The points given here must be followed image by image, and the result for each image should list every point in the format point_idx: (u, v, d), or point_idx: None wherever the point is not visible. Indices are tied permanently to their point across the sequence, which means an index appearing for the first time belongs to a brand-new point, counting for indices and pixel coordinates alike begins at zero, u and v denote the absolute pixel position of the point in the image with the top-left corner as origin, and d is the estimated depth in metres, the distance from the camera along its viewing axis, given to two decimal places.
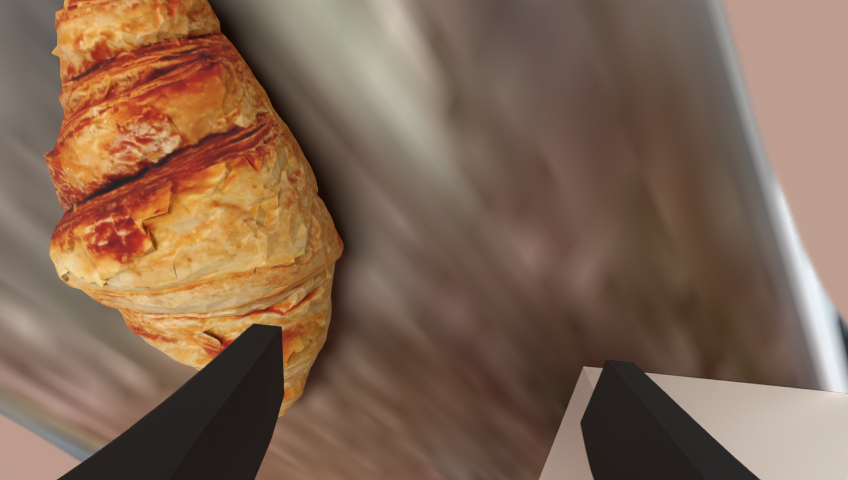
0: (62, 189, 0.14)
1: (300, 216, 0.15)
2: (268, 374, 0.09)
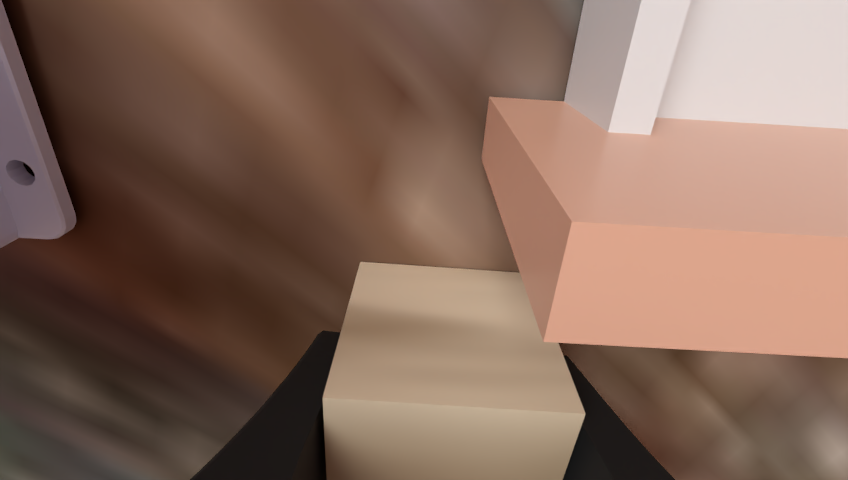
0: None
1: None
2: None
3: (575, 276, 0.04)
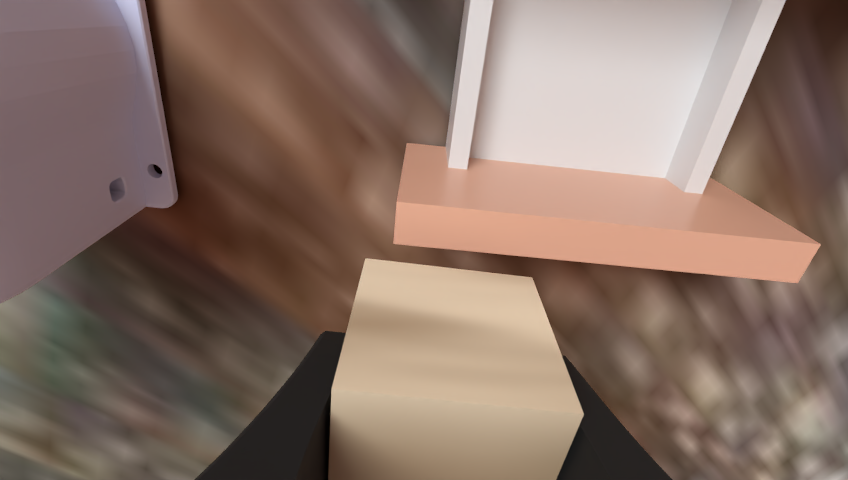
0: None
1: None
2: None
3: (400, 220, 0.11)
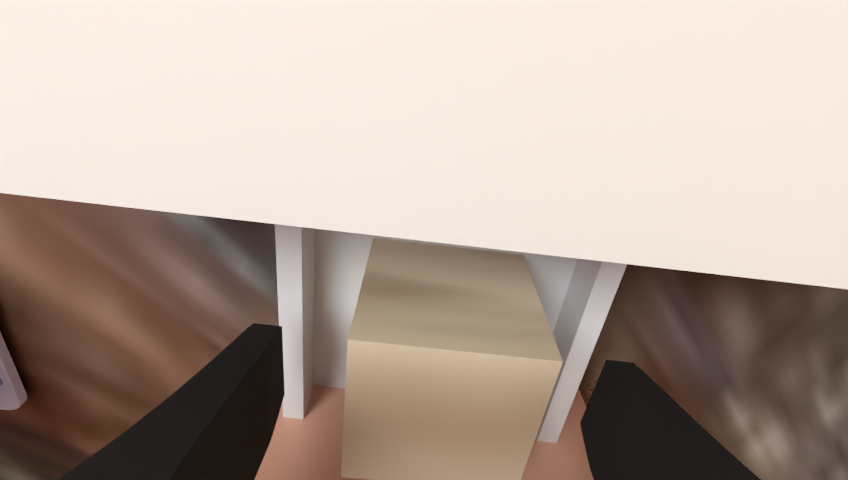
0: None
1: None
2: (268, 374, 0.09)
3: None
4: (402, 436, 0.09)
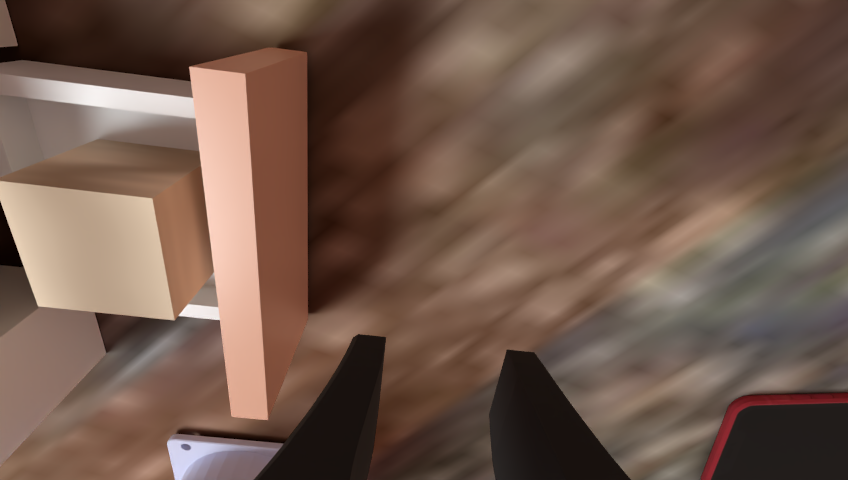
0: None
1: None
2: (379, 385, 0.09)
3: (246, 415, 0.15)
4: (113, 280, 0.13)
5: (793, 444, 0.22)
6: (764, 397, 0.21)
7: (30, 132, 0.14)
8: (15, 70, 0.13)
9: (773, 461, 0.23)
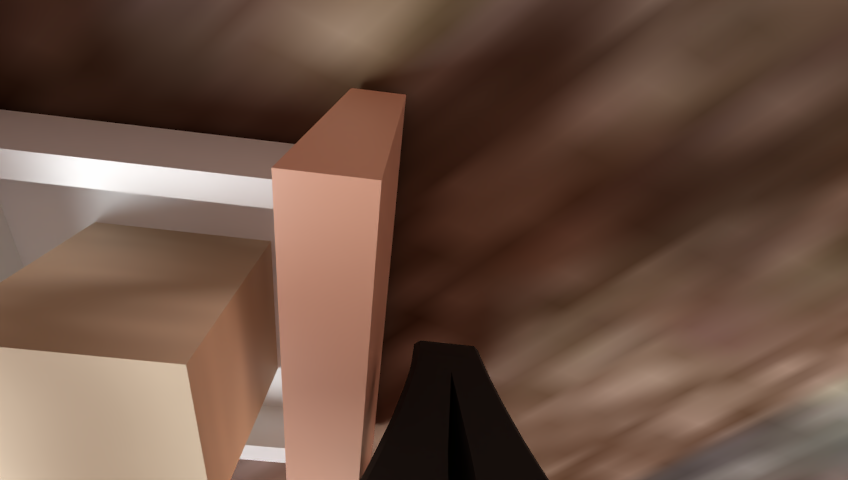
0: None
1: None
2: None
3: None
4: (120, 470, 0.08)
5: None
6: None
7: None
8: None
9: None
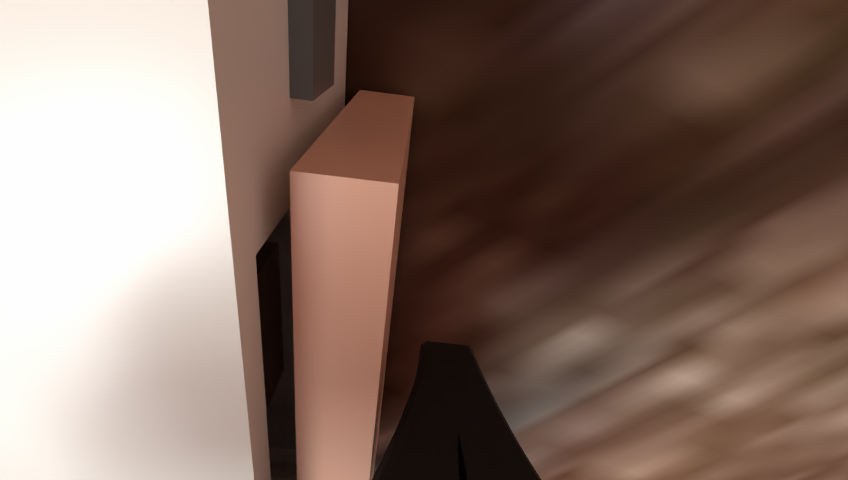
0: None
1: None
2: None
3: None
4: None
5: None
6: None
7: None
8: None
9: None
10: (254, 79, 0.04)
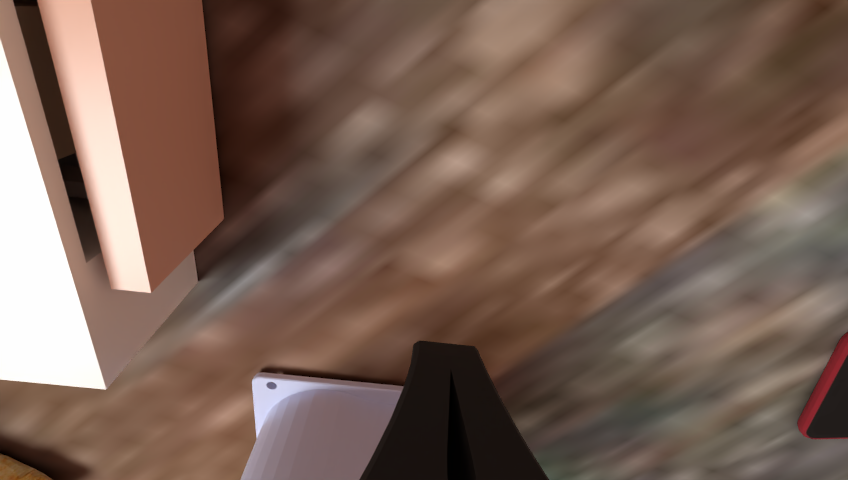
0: None
1: None
2: None
3: (126, 286, 0.13)
4: None
5: None
6: None
7: None
8: None
9: None
10: None
